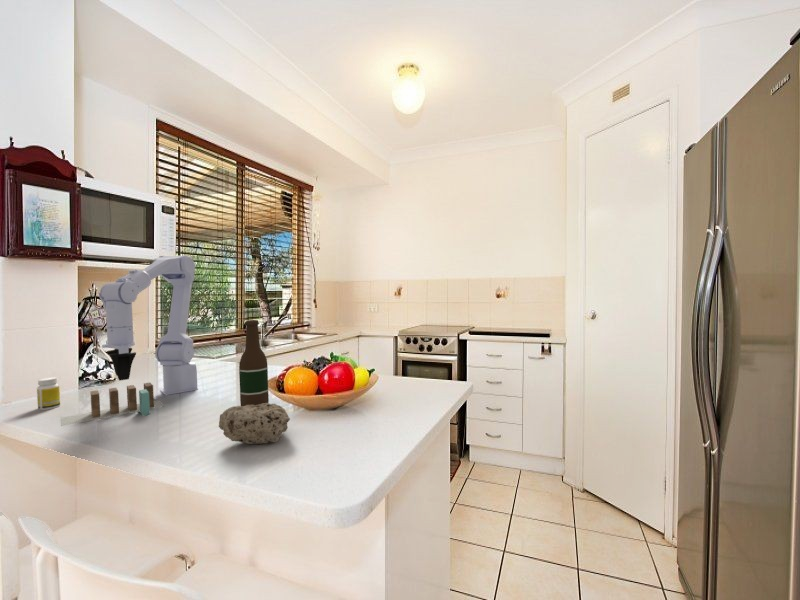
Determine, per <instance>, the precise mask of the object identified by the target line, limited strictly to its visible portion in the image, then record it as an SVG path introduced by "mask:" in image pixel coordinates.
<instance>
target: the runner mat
mask: <svg viewBox="0 0 800 600" xmlns="http://www.w3.org/2000/svg"><path fill="white" fill-rule="evenodd" d="M163 407H165V405H163V403H162V402H161V401H160V400H159V399H157V400H154V407H150V410H153V409H157V408H163ZM137 412H140V403H137V410H133V411H130V410H129V409H128V405H125V406H124V405H123V406H119V413H117V414H111V411H110V408H108V409H100V417H95V418H93V417H92V413H91V412H84V413H79V414H73V415H68V416H62V417H60V426H61V427H62V426H68V425H72V424H73V425H74V424H78V423H84V422H90V421H94V420H95V421H96V420H99V419H106V418H109V417H110V418H111V417H115V416H120V415H125V414H132V413H137Z"/></svg>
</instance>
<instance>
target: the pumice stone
mask: <svg viewBox="0 0 800 600" xmlns="http://www.w3.org/2000/svg"><path fill="white" fill-rule="evenodd" d="M290 420H291V418H290V417H289V414H288V413H287V411H286V409H285V408H284V407H282V406H281V405H279V404H276V403H263V404H258V405H246V406H241V405H236V406H232V407H228V408H227V409H224V411H223V412H222V413H221V414H220V415H219V421H218V428H219V429H220V430H221V431H223V432H222V433H223V435H224V436H225V438H228V439H229V440H230V441H232V442H237V443H238V442H240V443H245V444H247V445H253V444H254V445H255V444H256V445H259V444H260V445H261V444H268V443H269V442H270V443H277V442H278V441H279V440H280V437H281V436H282V434H283V433H285V432H287V429H288V423H289V421H290Z"/></svg>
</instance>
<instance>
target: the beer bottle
mask: <svg viewBox="0 0 800 600" xmlns="http://www.w3.org/2000/svg"><path fill="white" fill-rule="evenodd" d="M244 324H245V325H244V326H245V327H246V328H245V329H246V330H245V349H244V351H243V353H242V354H241V358H240V359H239V365H238V368H239V369H238V371H239V372H238V374H239V375H238V376H239V398H240V399H239V401H240V406H246V405H258V404H263V403H269V402H270V401H269V399H270V398H269V375H268V372H269V371H268V358H267V357H266V354H265V352H264V351H263V349H262V348H261V343H260V334H259V325H260V322H259V320H258V319H249V320H245V323H244ZM269 404H270V403H269Z"/></svg>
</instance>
